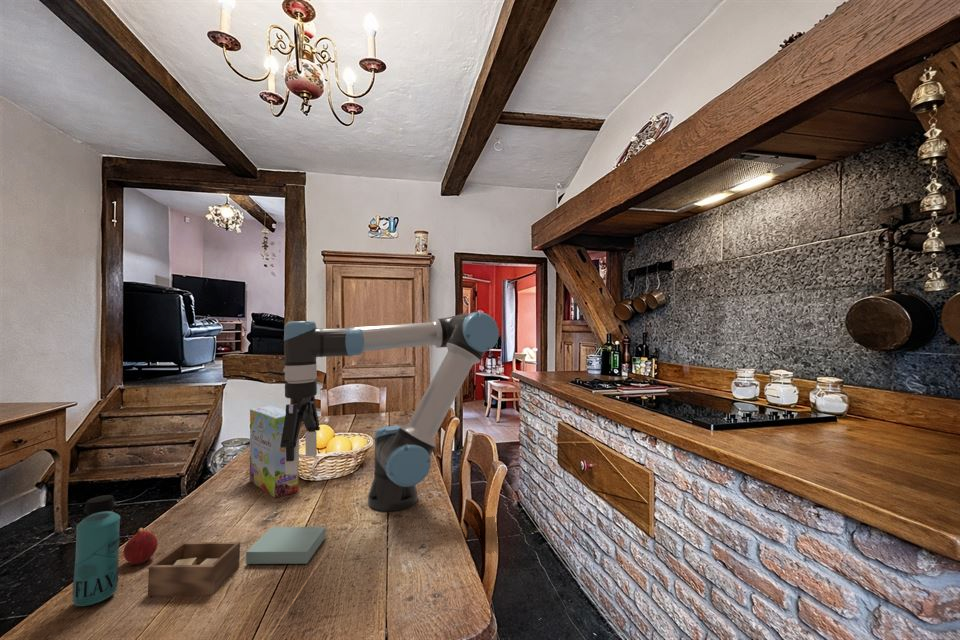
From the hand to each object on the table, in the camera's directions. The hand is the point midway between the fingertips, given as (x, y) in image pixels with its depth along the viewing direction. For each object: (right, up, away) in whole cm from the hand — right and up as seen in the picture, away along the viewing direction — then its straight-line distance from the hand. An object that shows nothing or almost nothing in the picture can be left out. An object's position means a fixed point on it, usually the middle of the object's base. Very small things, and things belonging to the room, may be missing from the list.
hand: (302, 464), depth 103 cm
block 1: (-16, -17, -19) cm, 31 cm away
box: (-14, -18, -19) cm, 30 cm away
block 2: (-11, -17, -19) cm, 28 cm away
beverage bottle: (-28, -18, -26) cm, 42 cm away
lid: (0, -17, -8) cm, 19 cm away
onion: (-31, -18, -13) cm, 38 cm away
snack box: (-25, -20, +33) cm, 46 cm away
